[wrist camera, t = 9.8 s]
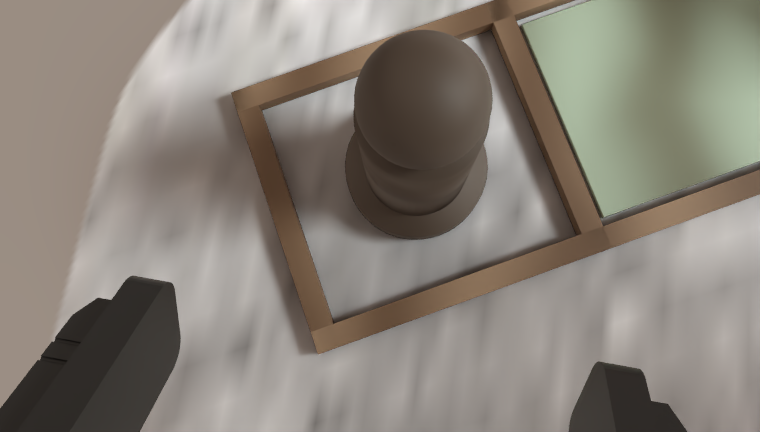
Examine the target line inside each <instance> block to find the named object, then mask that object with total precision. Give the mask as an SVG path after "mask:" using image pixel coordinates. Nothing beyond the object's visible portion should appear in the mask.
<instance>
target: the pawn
mask: <svg viewBox="0 0 760 432" xmlns="http://www.w3.org/2000/svg"><path fill="white" fill-rule="evenodd" d="M491 110H492V88H491V83H490V79H489V76H488V73H487V71H486V69H485V66H484V64H483V63H482V61H481V60H480V58H479V57H478V56H477V54H476V53H475V52H474V51H473V50H472V49H471V48H470V47H469V46H468V45H467V44H465V43H464V42H462V41H461V40H459V39H458V38H456V37H454V36H452V35H449V34H446V33H444V32H440V31H435V30H414V31H408V32H405V33H401V34H399V35H396V36H394V37H392V38H390V39H389V40H387V41H385V42H384V43H383V44H381V45H380V46H379V47H378V48H377V49H376V50H375V51H374V52H373V53H372V54H371V55H370V56H369V58H368V59H367V60H366V62H365V64H364V65H363V67H362V69H361V71H360V74H359V76H358V79H357V83H356V87H355V94H354V127H355V133H354V134H353V136H352V138H351V141H350V143H349V146H348V150H347V153H346V161H345V172H346V179H347V184H348V187H349V190H350V193H351V195H352V198H353V200H354V202H355V204H356V206H357V207H358V209H359V211H360V212H361V213H362V214H363V216H364V217H365V218H366V219H367V220H368V221H369V222H370V223H371V224H373V225H374V226H375V227H377V228H378V229H380V230H382V231H384V232H385V233H388V234H390V235H393V236H396V237H400V238H404V239H427V238H432V237H436V236H439V235H442V234H444V233H446V232H448V231H450V230H452V229H453V228H455V227H456V226H458V225H459V224H460V223H461V222H463V220H464V219H465V218H466V217H467V216H468V215H469V214H470V213H471V211H472V210H473V208H474V207H475V205H476V204H477V202H478V200H479V199H480V197H481V195H482V192H483V190H484V187H485V183H486V179H487V170H488V165H487V155H486V150H485V147H484V144H483V143H484V141H485V138H486V136H487V132H488V128H489V119H490V114H491Z"/></svg>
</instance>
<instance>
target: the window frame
mask: <svg viewBox="0 0 760 432" xmlns="http://www.w3.org/2000/svg"><path fill="white" fill-rule="evenodd" d="M571 1H574V0H494V1H491V2H488V3H485V4H483V5H480V6H477V7H474V8H471V9H468V10H465V11H463V12H460V13H457V14H454V15H451V16H448V17H445V18H443V19H440V20H437V21H434V22H431V23H428V24H426V25H423V26H420V27H417V28H414V29H411V30H408V31H414V30H435V31H440V32H444V33H446V34H449V35H452V36H454V37H456V38H458V39H459V40H463V39H466V38H469V37H472V36H475V35H477V34H480V33H483V32H486V31H489V30H492V33H493V35H494V38H495V40H496V42H497V45H498V47H499V50H500V52H501V54H502V57H503V59H504V62H505V64H506V67H507V69H508V71H509V74H510V76H511V79H512V81H513V83H514V86H515V88H516V91H517V93H518V95H519V98H520V100H521V103H522V105H523V107H524V110H525V112H526V115H527V117H528V119H529V122H530V124H531V127H532V129H533V132H534V134H535V136H536V139H537V141H538V144H539V146H540V148H541V151H542V153H543V156H544V158H545V160H546V163H547V165H548V168H549V170H550V172H551V175H552V177H553V180H554V182H555V184H556V187H557V189H558V192H559V194H560V197H561V199H562V201H563V204H564V206H565V209H566V211H567V213H568V216H569V218H570V221H571V223H572V225H573V228H574V230H575V233H576V235H577V236H575V237H572V238H569V239H566V240H564V241H561V242H558V243H555V244H553V245H550V246H547V247H544V248H542V249H539V250H536V251H533V252H531V253H528V254H525V255H522V256H519V257H517V258H514V259H511V260H508V261H506V262H503V263H500V264H497V265H495V266H492V267H489V268H486V269H484V270H481V271H478V272H475V273H473V274H470V275H467V276H464V277H461V278H459V279H456V280H453V281H450V282H448V283H445V284H442V285H439V286H437V287H434V288H431V289H428V290H426V291H423V292H420V293H417V294H414V295H412V296H409V297H406V298H403V299H401V300H398V301H395V302H392V303H390V304H387V305H384V306H381V307H379V308H376V309H373V310H370V311H368V312H365V313H362V314H359V315H356V316H354V317H351V318H348V319H345V320H343V321H340V322H337V323H334V321H333V318H332V316H331V313H330V310H329V307H328V304H327V301H326V298H325V295H324V292H323V289H322V286H321V283H320V280H319V277H318V274H317V271H316V268H315V265H314V263H313V260H312V257H311V254H310V251H309V248H308V245H307V242H306V239H305V236H304V233H303V230H302V227H301V224H300V221H299V218H298V215H297V212H296V210H295V207H294V204H293V201H292V198H291V195H290V192H289V189H288V186H287V183H286V180H285V177H284V174H283V171H282V168H281V165H280V162H279V159H278V157H277V154H276V151H275V148H274V145H273V142H272V139H271V136H270V133H269V130H268V127H267V124H266V121H265V118H264V115H263V112H262V110H264V109H267V108H270V107H273V106H276V105H279V104H281V103H284V102H287V101H290V100H293V99H296V98H298V97H301V96H304V95H307V94H310V93H313V92H316V91H318V90H321V89H324V88H327V87H330V86H333V85H335V84H338V83H341V82H344V81H347V80H350V79H352V78H355V77H358V76H359V74H360V71H361V69H362V67H363V65H364V64H365V62H366V60H367V59H368V58H369V56H370V55H371V54H372V53H373V52H374V51H375V50H376V49H377V48H378V47H379V46H380V45H381V44H383V43H384V42H385V41H387V40H389V39H390V38H392V37H394V36H396V35H394V36H391V37H388V38H386V39H383V40H380V41H377V42H374V43H371V44H369V45H366V46H363V47H360V48H357V49H354V50H351V51H349V52H346V53H343V54H340V55H337V56H334V57H332V58H329V59H326V60H323V61H320V62H317V63H314V64H312V65H309V66H306V67H303V68H300V69H297V70H294V71H292V72H289V73H286V74H283V75H280V76H277V77H275V78H272V79H269V80H266V81H263V82H260V83H257V84H255V85H252V86H249V87H246V88H243V89H240V90H237V91H235V92H232V93H231V94H232V97H233V100H234V103H235V106H236V109H237V112H238V115H239V118H240V121H241V124H242V127H243V130H244V133H245V136H246V139H247V142H248V145H249V148H250V151H251V154H252V157H253V160H254V163H255V166H256V169H257V172H258V175H259V178H260V181H261V184H262V187H263V190H264V193H265V196H266V199H267V202H268V205H269V208H270V211H271V214H272V217H273V220H274V223H275V226H276V229H277V232H278V235H279V238H280V241H281V244H282V247H283V250H284V253H285V256H286V259H287V262H288V265H289V268H290V271H291V274H292V277H293V280H294V283H295V286H296V290H297V293H298V296H299V299H300V302H301V305H302V308H303V311H304V314H305V317H306V320H307V323H308V326H309V329H310V332H311V335H312V338H313V341H314V344H315V347H316V350H317V353H318V354H321V353H324V352H326V351H329V350H332V349H335V348H337V347H340V346H343V345H346V344H348V343H351V342H354V341H357V340H359V339H362V338H365V337H368V336H370V335H373V334H376V333H379V332H381V331H384V330H387V329H390V328H392V327H395V326H398V325H401V324H403V323H406V322H409V321H412V320H414V319H417V318H420V317H423V316H425V315H428V314H431V313H434V312H436V311H439V310H442V309H445V308H448V307H450V306H453V305H456V304H459V303H461V302H464V301H467V300H470V299H472V298H475V297H478V296H481V295H483V294H486V293H489V292H492V291H494V290H497V289H500V288H503V287H505V286H508V285H511V284H514V283H516V282H519V281H522V280H525V279H527V278H530V277H533V276H536V275H538V274H541V273H544V272H547V271H549V270H552V269H555V268H558V267H560V266H563V265H566V264H569V263H572V262H574V261H577V260H580V259H583V258H585V257H588V256H591V255H594V254H596V253H599V252H602V251H605V250H607V249H610V248H613V247H616V246H618V245H621V244H624V243H627V242H629V241H632V240H635V239H638V238H640V237H643V236H646V235H649V234H651V233H654V232H657V231H660V230H662V229H665V228H668V227H671V226H673V225H676V224H679V223H682V222H684V221H687V220H690V219H693V218H695V217H698V216H701V215H704V214H707V213H709V212H712V211H715V210H718V209H720V208H723V207H726V206H729V205H731V204H734V203H737V202H740V201H742V200H745V199H748V198H751V197H753V196H756V195H759V194H760V170H757V171H754V172H752V173H749V174H746V175H743V176H741V177H738V178H735V179H732V180H729V181H727V182H724V183H721V184H718V185H716V186H713V187H710V188H707V189H705V190H702V191H699V192H696V193H694V194H691V195H688V196H685V197H683V198H680V199H677V200H674V201H671V202H669V203H666V204H663V205H660V206H658V207H655V208H652V209H649V210H647V211H644V212H641V213H638V214H636V215H633V216H630V217H627V218H624V219H622V220H619V221H616V222H613V223H611V224H608V225H605V226H603V225H602V222H601V220H600V217H599V215H598V213H597V210H596V208H595V206H594V203H593V201H592V199H591V196H590V194H589V192H588V189H587V187H586V184H585V182H584V180H583V177H582V175H581V173H580V170H579V168H578V166H577V163H576V161H575V158H574V156H573V154H572V151H571V149H570V147H569V144H568V142H567V140H566V137H565V135H564V133H563V130H562V128H561V125H560V123H559V121H558V118H557V116H556V114H555V111H554V109H553V107H552V104H551V102H550V100H549V97H548V95H547V92H546V90H545V88H544V85H543V83H542V81H541V78H540V76H539V74H538V71H537V69H536V66H535V64H534V62H533V59H532V57H531V55H530V52H529V50H528V48H527V45H526V43H525V41H524V38H523V36H522V33H521V31H520V29H519V26H518V24H517V22H516V21H517V20H520V19H523V18H526V17H529V16H531V15H534V14H537V13H540V12H543V11H546V10H548V9H551V8H554V7H557V6H560V5H563V4H565V3H568V2H571ZM521 28H522V30H523V32H524V35H525V37H526V39H527V42H528V44H529V46H530V49H531V51H532V53H533V56H534V58H535V61H536V63H537V65H538V68H539V70H540V72H541V75H542V77H543V79H544V82H545V84H546V86H547V89H548V91H549V94H550V96H551V98H552V101H553V103H554V105H555V108H556V110H557V112H558V115H559V117H560V119H561V122H562V124H563V126H564V129H565V131H566V134H567V136H568V138H569V141H570V143H571V145H572V148H573V150H574V152H575V155H576V157H577V159H578V162H579V164H580V167H581V169H582V171H583V174H584V176H585V178H586V181H587V183H588V185H589V188H590V190H591V192H592V195H593V197H594V199H595V202H596V204H597V207H598V209H599V211H600V214H601V216H602V218H604V217H607V216H609V215H612V214H615V213H618V212H620V211H623V210H626V209H629V208H631V207H634V206H637V205H640V204H643V203H645V202H648V201H651V200H654V199H656V198H659V197H662V196H665V195H667V194H670V193H673V192H676V191H679V190H681V189H684V188H687V187H690V186H692V185H695V184H698V183H701V182H703V181H706V180H709V179H712V178H714V177H717V176H720V175H723V174H726V173H728V172H731V171H734V170H737V169H739V168H742V167H745V166H748V165H750V164H753V163H756V162H759V161H760V0H591V1H588V2H585V3H582V4H579V5H576V6H574V7H571V8H568V9H565V10H562V11H559V12H557V13H554V14H551V15H548V16H545V17H542V18H540V19H537V20H534V21H531V22H528V23H525V24H523V25H522V26H521ZM408 31H406V32H408ZM403 33H405V32H403ZM400 34H401V33H400ZM397 35H399V34H397Z"/></svg>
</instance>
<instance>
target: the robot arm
mask: <svg viewBox="0 0 760 432" xmlns="http://www.w3.org/2000/svg"><path fill="white" fill-rule="evenodd" d="M180 339H181V338H180V328H179V320H178V312H177V304H176V296H175V289H174V286H173V284H172V283H171V282H165V281H160V280H154V279H149V278H143V277H137V276H131V277H129V278H128V279H127V280H126V281H125V282H124V283H123V285H122V286H121V288H120V289H119V290H118V292H117V293H116V294H115V296H114V297H113V299H112V300H108V299H102V298H97V299H95V300H94V301H92V302H91V303H90V304H88V305H87V306H85V307H84V308H82V309H81V310H79V311H78V312H76V313H75V314H73V315H72V316H71V318H70V319H69V320H68V322H67V323H66V324H65V325H64V327H63V328H62V329H61V331H60V332H59V333H58V335H57V336H56V337H55V341H54V342H51V344H50V345H49V346H48V347H47V349H46V350H45V351H44V353H43V354H42V355H41V359H40V361H39V360H38V361H37V362H36V363H35V364H34V366H33V367H32V368H31V369H30V371H29V372H28V373H27V375H26V376H25V377H24V379H23V380H22V381H21V382H20V384H19V385H18V386H17V388H16V389H15V390H14V392H13V393H12V394H11V395H10V397H9V398H8V399H7V401H6V402H5V403H4V404H3V406H2V407H1V408H0V432H140V430H141V428H142V426H143V424H144V423H145V421H146V419H147V417H148V415H149V413H150V411H151V409H152V408H153V406H154V404H155V402H156V400H157V398H158V396H159V394H160V393H161V391H162V389H163V387H164V385H165V383H166V381H167V380H168V378H169V376H170V374H171V372H172V370H173V368H174V366H175V363H176V361H177V357H178V354H179V349H180ZM569 432H687V431H686V429H685V428H684V426H683V425H682V423H681V422H680V421H679V419H678V418H677V416H676V415H675V414H674V412H673V411H672V409H671V408H670V406H669V405H668V404H664V403H659V402H653V401H651V399H650V395H649V391H648V387H647V383H646V379H645V376H644V374H643V372H642V371H641V370H640V369H637V368H632V367H626V366H621V365H615V364H609V363H604V362H597V363H596V364H595V365H594V367H593V368H592V371H591V373H590V375H589V377H588V379H587V381H586V384H585V386H584V388H583V390H582V392H581V395H580V397H579V399H578V401H577V403H576V405H575V408H574V410H573V412H572V416H571V420H570V425H569Z"/></svg>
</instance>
